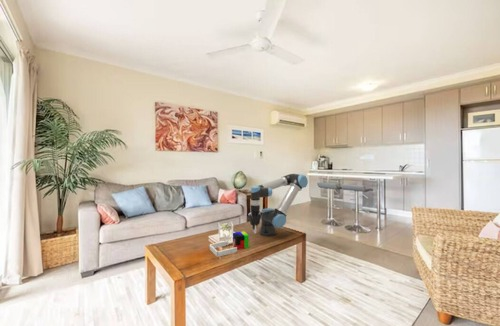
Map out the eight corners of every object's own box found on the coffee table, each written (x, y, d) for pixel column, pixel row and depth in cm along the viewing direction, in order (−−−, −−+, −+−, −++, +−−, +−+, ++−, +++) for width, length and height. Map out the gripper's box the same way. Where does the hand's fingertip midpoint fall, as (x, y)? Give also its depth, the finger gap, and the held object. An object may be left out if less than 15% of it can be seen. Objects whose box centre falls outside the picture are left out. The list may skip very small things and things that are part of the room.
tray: (227, 244, 177) (227, 240, 177) (236, 252, 164) (236, 247, 164) (209, 249, 169) (209, 244, 169) (217, 257, 155) (217, 252, 155)
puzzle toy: (232, 244, 177) (232, 232, 177) (244, 243, 181) (244, 231, 181) (236, 249, 168) (236, 237, 168) (248, 247, 171) (248, 235, 171)
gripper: (259, 203, 187) (258, 230, 188) (246, 204, 180) (245, 232, 181) (264, 204, 181) (263, 232, 181) (250, 206, 174) (250, 235, 175)
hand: (254, 232), depth 181 cm, fingers closed
